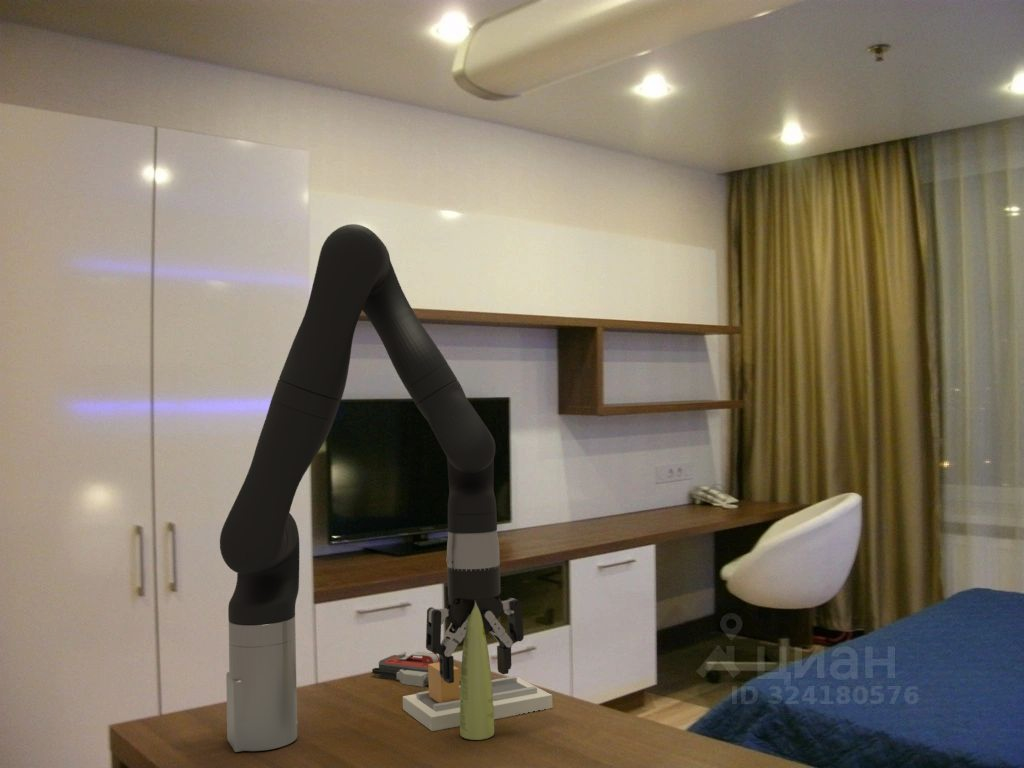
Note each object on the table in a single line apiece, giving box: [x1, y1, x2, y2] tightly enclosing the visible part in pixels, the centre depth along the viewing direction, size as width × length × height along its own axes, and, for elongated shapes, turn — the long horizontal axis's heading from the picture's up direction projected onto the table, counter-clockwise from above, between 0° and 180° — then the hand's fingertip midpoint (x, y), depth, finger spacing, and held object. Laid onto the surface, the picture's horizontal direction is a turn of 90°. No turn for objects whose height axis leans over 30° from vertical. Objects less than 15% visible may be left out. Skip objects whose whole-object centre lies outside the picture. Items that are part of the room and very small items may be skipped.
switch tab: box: [428, 663, 460, 703], centre depth 140 cm, size 3×5×5 cm, turn 27°
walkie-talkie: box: [371, 651, 461, 688], centre depth 160 cm, size 9×4×20 cm
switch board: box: [402, 676, 553, 732], centre depth 143 cm, size 20×12×3 cm, turn 117°
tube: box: [459, 600, 495, 741], centre depth 131 cm, size 6×5×20 cm
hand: (476, 677), depth 131 cm, fingers open, 8 cm apart
